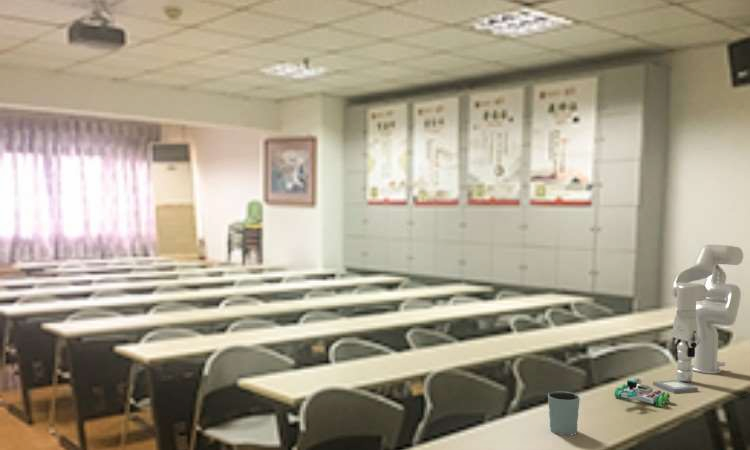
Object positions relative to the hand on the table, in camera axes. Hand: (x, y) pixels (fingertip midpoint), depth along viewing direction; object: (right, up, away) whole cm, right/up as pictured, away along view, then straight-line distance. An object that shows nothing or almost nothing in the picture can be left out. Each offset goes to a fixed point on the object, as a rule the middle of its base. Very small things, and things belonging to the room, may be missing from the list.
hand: (684, 354), depth 283 cm
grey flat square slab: (-9, -12, -11) cm, 19 cm away
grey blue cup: (-72, -13, -66) cm, 98 cm away
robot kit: (-33, -13, -32) cm, 48 cm away
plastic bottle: (0, -12, 0) cm, 12 cm away
